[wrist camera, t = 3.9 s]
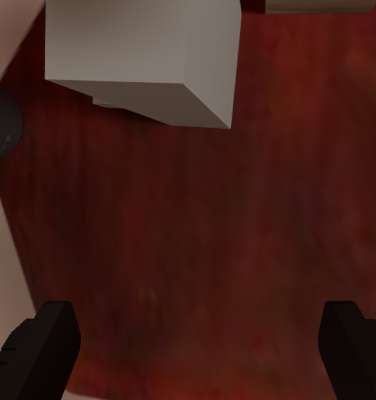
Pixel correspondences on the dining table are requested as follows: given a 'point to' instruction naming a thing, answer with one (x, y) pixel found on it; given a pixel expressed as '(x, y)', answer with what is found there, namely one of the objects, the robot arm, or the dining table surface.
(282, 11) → the oak stand
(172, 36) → the cream stand
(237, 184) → the dining table surface
